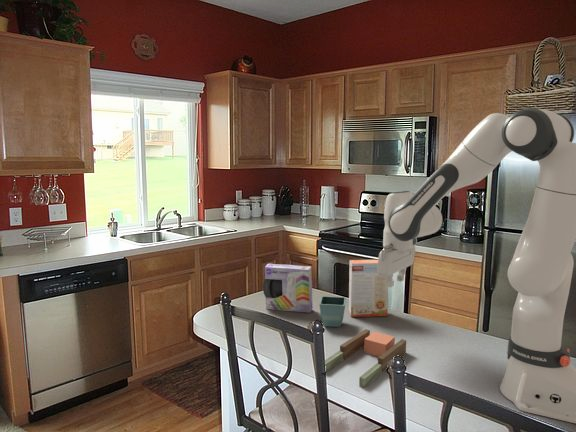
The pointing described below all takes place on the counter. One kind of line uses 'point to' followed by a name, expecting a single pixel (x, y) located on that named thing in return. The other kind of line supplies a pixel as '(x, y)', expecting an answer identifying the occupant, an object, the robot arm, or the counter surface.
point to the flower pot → (332, 310)
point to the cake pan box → (288, 287)
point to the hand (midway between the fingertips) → (395, 283)
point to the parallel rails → (358, 343)
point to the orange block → (378, 343)
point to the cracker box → (367, 289)
